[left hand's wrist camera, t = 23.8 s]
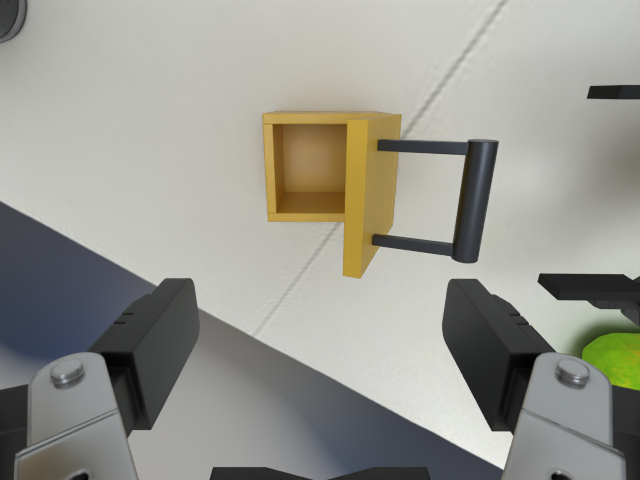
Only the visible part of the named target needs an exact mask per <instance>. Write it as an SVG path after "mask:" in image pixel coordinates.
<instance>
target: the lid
mask: <svg viewBox="0 0 640 480" xmlns="http://www.w3.org/2000/svg"><path fill="white" fill-rule="evenodd" d="M401 116H402V115H401V114H385V115H377V116H370V117H363V118H355V119H348V120H347V147H346V183H345V218H344V254H343V276H348V277H354V278H361V277H362V275H363V273H364V272H365V270H366V268H367V267H368V265H369V263H370V262H371V260H372V258H373V257H374V255H375V253H376V252H377V250H378V248H379V247H380V246H381V247H388V248H396V249H403V250H410V251H417V252H425V253H432V254H439V255H446V256H451V258H452V259H453V260H455V261H458V262H461V263H475V262H477V261H478V256H479V250H480V245H481V239H482V233H483V228H484V222H485V217H486V211H487V205H488V200H489V194H490V189H491V183H492V177H493V172H494V166H495V161H496V155H497V149H498V144H499V141H496V140H486V139H471V140H468V142H449V141H421V140H400V128H401ZM399 152H411V153H432V154H453V155H466V156H465V163H464V170H463V177H462V183H461V190H460V197H459V204H458V210H457V217H456V224H455V231H454V238H453V243H446V242H438V241H430V240H422V239H414V238H406V237H398V236H390V235H387V233H388V232H389V230H390V228H391V227H392V225H393V215H394V203H395V190H396V178H397V166H398V153H399Z"/></svg>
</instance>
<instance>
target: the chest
mask: <svg viewBox="0 0 640 480" xmlns="http://www.w3.org/2000/svg"><path fill="white" fill-rule="evenodd" d="M385 114H389V113H383V112H366V111H275V112H269V113H264V114H262V118H263V137H264V156H265V175H266V193H267V212H268V221H269V222H344V218H345V183H346V147H347V120H348V119H355V118H363V117H370V116H377V115H385Z"/></svg>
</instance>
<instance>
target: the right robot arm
mask: <svg viewBox="0 0 640 480" xmlns="http://www.w3.org/2000/svg"><path fill="white" fill-rule="evenodd" d="M587 99H640V85H611V86H590V88H589V92H588V96H587ZM538 283H539V284H540V285H542V286H543V287H544V288H545V289H546V290H547V291H548V292H549V293H550V294H551V295H553V296H554V297H555V298H556V299H557V300H587V301H588V302H589V303H590V304H592V305H593V306H594V307H596V308H599V309H621V313H622V314H623V315H625V316H626V317H627V318H628V319H630V320H631V321H632V322H634V323H635V324H636V325H638V326H639V327H640V276H639V277H638V278H636V279H634V280H632V279H630V278H628V277H627V276H625V275H624V274H539V278H538Z"/></svg>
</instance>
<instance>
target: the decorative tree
mask: <svg viewBox="0 0 640 480" xmlns="http://www.w3.org/2000/svg"><path fill="white" fill-rule="evenodd" d="M582 360H584V361H587V362H588V363H590V364H592V365H594V366H595V367H597V368H598V369H599V370H600V371H602V372H603V373H604V374H605V375H606V376H607V377H608V379H609V380H610V382H611V384H612V385H616V386H621V387H626V388H630V389H635V390H640V333H611V334H607V335H602V336H599V337H597V338H596V339H595V340H593V341H592V342H591V343H590V344H588V345H587V346H586V347H585V348H584V349H583V352H582Z"/></svg>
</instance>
